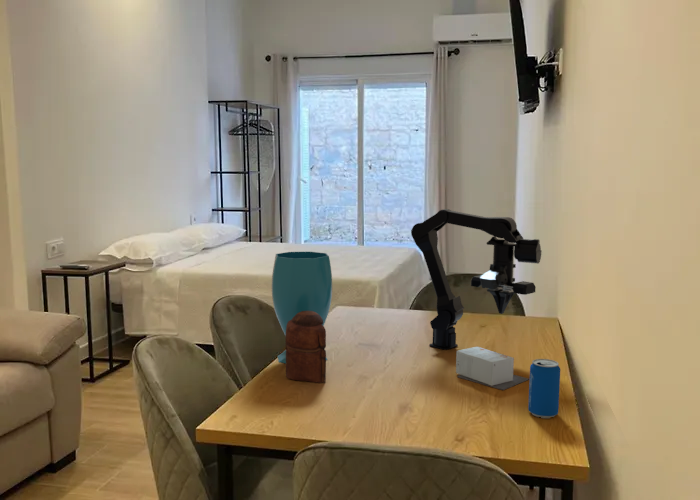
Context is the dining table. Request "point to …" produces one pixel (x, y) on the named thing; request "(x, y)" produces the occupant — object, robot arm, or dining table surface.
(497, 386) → the mat
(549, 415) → the beverage can
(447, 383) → the dining table surface
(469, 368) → the small box
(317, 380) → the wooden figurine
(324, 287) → the vase
